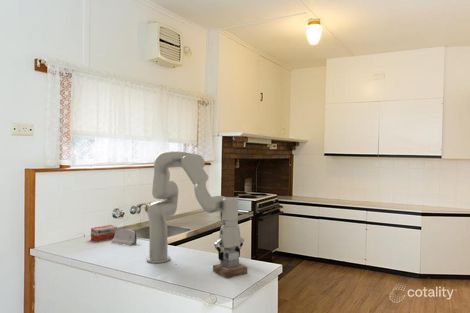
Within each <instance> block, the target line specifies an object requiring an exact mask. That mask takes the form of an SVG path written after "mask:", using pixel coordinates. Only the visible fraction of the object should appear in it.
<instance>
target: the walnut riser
mask: <svg viewBox="0 0 470 313" xmlns="http://www.w3.org/2000/svg"><path fill="white" fill-rule="evenodd" d="M212 272H213V273H214V274H216V275H219V276H221V277H223V278H225V279H231V278H234V277H239V276H244V275H247V274H248V266H246V265H242V264H240V263H239V267H235V268H230V269H228V268H226V267H224V266H221V265H220V263H218V264H213V265H212Z"/></svg>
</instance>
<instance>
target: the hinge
mask: <svg viewBox="0 0 470 313" xmlns="http://www.w3.org/2000/svg"><path fill="white" fill-rule="evenodd" d="M137 239H138V232H137V231H134V230H132V229H128V228H120V229H117V231H116V232H115V235H114V238H113V239H111V242H110V243H111V244H115V243H118V245H123V244H125V245H124V246H132V245H136V244H137Z"/></svg>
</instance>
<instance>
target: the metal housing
mask: <svg viewBox="0 0 470 313" xmlns="http://www.w3.org/2000/svg"><path fill="white" fill-rule="evenodd" d="M223 253H224V256H223V261H221V260H219V262H220V263H219V264H220V265H221V266H224V267H226V268H228V269H230V268H235V267H239V264H240V257H239V252H237V251H235V250H232V249H227V250H223Z"/></svg>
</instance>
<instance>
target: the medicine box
mask: <svg viewBox="0 0 470 313" xmlns="http://www.w3.org/2000/svg"><path fill="white" fill-rule="evenodd" d="M117 230H118V226H116V225H112V224H109V225H102V226H101V225H100V226H97V227H91V228H90V240H91V241H94V242H98V243H99V242H103V241H107V240H108V241H109V240H113V238H114V235H115V232H116V231H117Z"/></svg>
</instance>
